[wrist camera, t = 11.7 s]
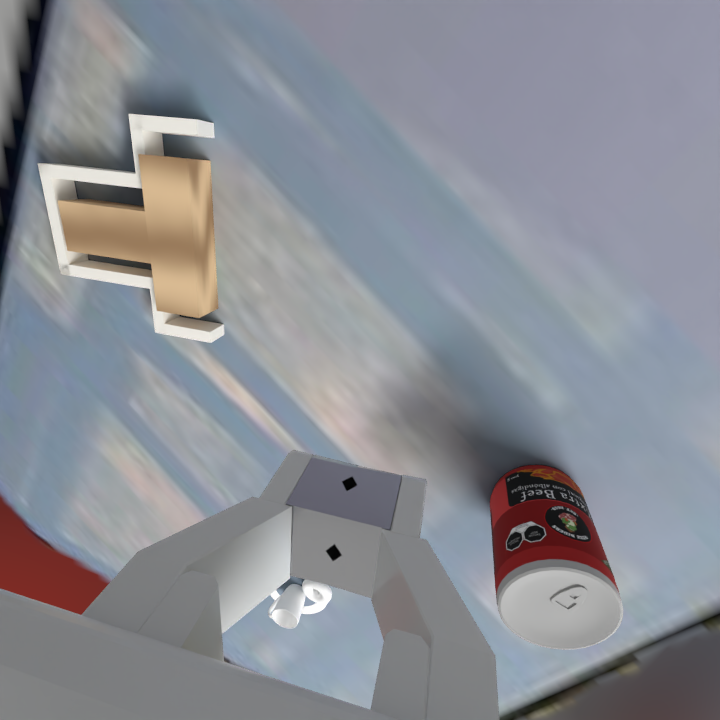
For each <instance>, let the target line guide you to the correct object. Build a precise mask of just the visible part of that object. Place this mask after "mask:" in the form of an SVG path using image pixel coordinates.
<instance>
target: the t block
mask: <svg viewBox="0 0 720 720" xmlns="http://www.w3.org/2000/svg"><path fill="white" fill-rule="evenodd" d="M138 157H139V166H140V174H141V182H142V191H143V199H144V206H140V205H132V204H124V203H116V202H108V201H100V200H92V199H76V200H57V201H58V206H59V211H60V216H61V221H62V226H63V231H64V236H65V241H66V246H67V251H72V252H78V253H85V254H91V255H98V256H104V257H111V258H117V259H124V260H130V261H137V262H144V263H150V264H151V267H152V275H153V284H154V292H155V301H156V309H157V311H161V312H167V313H172V314H178V315H184V316H189V317H195V318H200V317H202V316H204V315H206V314H208V313H210V312H212V311H214V310H216V309H218V295H217V276H216V258H215V239H214V221H213V203H212V184H211V166H210V161H208V160H198V159H188V158H178V157H168V156H157V155H144V154H138Z"/></svg>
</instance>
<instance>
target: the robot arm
mask: <svg viewBox="0 0 720 720" xmlns="http://www.w3.org/2000/svg"><path fill="white" fill-rule="evenodd" d="M426 486H427V481H426V479H421V478H416V477H411V476H406V475H403V477H402V475H398V474H394V473H389V472H385V471H380V470H375V469H371V468H366V467H362V466H358V465H354V464H350V463H346V462H342V461H338V460H334V459H330V458H326V457H322V456H318V455H313V454H308V453H304V452H300V451H296V450H293V451H291V452H290V453H288V455H287V456H286V458H285V459H284V461H283V462H282V464H281V466H280V467H279V469H278V470H277V472H276V473H275V475H274V476H273V478H272V479H271V481H270V482H269V484H268V485H267V487H266V488H265V490H264V491H263V493H262V494H261V496H260V497H259V498H256V497H251V498H249V499H247V500H245V501H242V502H240V503H238V504H236V505H234V506H232V507H230V508H228V509H226V510H224V511H222V512H220V513H217V514H215V515H213V516H211V517H209V518H207V519H205V520H203V521H201V522H199V523H197V524H195V525H192V526H190V527H188V528H186V529H184V530H182V531H180V532H178V533H176V534H174V535H172V536H169V537H167V538H165V539H163V540H161V541H159V542H157V543H155V544H153V545H151V546H149V547H147V548H144V549H142V550H140V551H138V552H137V553H136V554H135V555H134V557H133V558H132V559H131V560H130V561H129V562H128V563H127V564H126V566H125V567H124V568H123V569H122V570H121V571H120V572H119V573H118V574H117V576H116V577H115V578H114V579H113V580H112V581H111V582H110V583H109V585H108V586H107V587H106V588H105V589H104V590H103V591H102V593H101V594H100V595H99V596H98V597H97V598H96V599H95V600H94V602H93V603H92V604H91V605H90V606H89V607H88V608H87V609H86V610H85V612H84V613H83V614H82V615H79V614H76V613H73V612H70V611H67V610H64V609H61V608H58V607H55V606H52V605H48V604H46V603H42V602H39V601H36V600H33V599H30V598H27V597H24V596H21V595H18V594H15V593H12V592H9V591H6V590H3V589H0V720H499V709H498V692H497V676H496V660H495V655H494V653H493V651H492V650H491V648H490V646H489V644H488V643H487V641H486V639H485V638H484V636H483V634H482V633H481V631H480V629H479V627H478V626H477V624H476V622H475V621H474V619H473V617H472V616H471V614H470V612H469V610H468V609H467V607H466V605H465V604H464V602H463V600H462V599H461V597H460V595H459V593H458V592H457V590H456V588H455V587H454V585H453V583H452V582H451V580H450V578H449V576H448V575H447V573H446V571H445V570H444V568H443V566H442V565H441V563H440V561H439V559H438V558H437V556H436V554H435V553H434V551H433V549H432V548H431V546H430V544H429V542H428V541H427V540H424V539H421V538H420V533H421V525H422V517H423V509H424V502H425V494H426ZM290 576H294V577H298V578H302V579H306V580H310V581H314V582H318V583H322V584H326V585H330V586H334V587H337V588H340V589H343V590H346V591H350V592H353V593H356V594H359V595H363V596H366V597H369V598H372V600H371V601H372V604H373V607H374V610H375V614H376V617H377V620H378V623H379V627H380V630H381V633H382V636H383V640H384V644H383V649H382V654H381V659H380V664H379V669H378V674H377V679H376V684H375V690H374V695H373V700H372V705H371V710H369V709H366V708H363V707H360V706H357V705H354V704H351V703H348V702H345V701H342V700H339V699H336V698H333V697H330V696H327V695H324V694H320V693H317V692H314V691H311V690H308V689H305V688H302V687H299V686H296V685H293V684H290V683H287V682H284V681H281V680H278V679H275V678H272V677H268V676H265V675H262V674H259V673H256V672H253V671H250V670H247V669H244V668H241V667H238V666H235V665H232V664H229V663H226V662H224V656H223V642H222V634H223V633H224V632H225V631H226V630H228V629H229V628H230V627H231V626H232V625H234V624H235V623H236V622H237V621H239V620H240V619H241V618H242V617H243V616H245V615H246V614H247V613H248V612H249V611H251V610H252V609H253V608H254V607H256V606H257V605H258V604H259V603H260V602H262V601H263V600H264V599H265V598H267V597H268V596H269V595H270V594H271V593H273V592H274V591H275V590H276V589H278V588H279V587H280V586H281V585H282V584H284V583H285V582H286V581H287V580H288V579H290Z"/></svg>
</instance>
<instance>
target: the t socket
mask: <svg viewBox="0 0 720 720" xmlns="http://www.w3.org/2000/svg"><path fill="white" fill-rule="evenodd" d="M129 122H130V131H131V139H132V147H133V155H134V163H135V171H136V172H129V171H120V170H111V169H102V168H93V167H84V166H75V165H66V164H49V163H38V167H39V172H40V177H41V181H42V186H43V191H44V196H45V201H46V205H47V210H48V215H49V220H50V224H51V229H52V234H53V239H54V243H55V248H56V253H57V258H58V262H59V267H60V272H61V274H63V275H69V276H75V277H81V278H87V279H93V280H99V281H105V282H111V283H117V284H123V285H130V286H136V287H142V288H148V289H150V294H151V302H152V310H153V318H154V326H155V333H160V334H166V335H171V336H177V337H182V338H187V339H193V340H198V341H204V342H209V343H212V342H213V341H215V340H216V339H218V338H219V337H221V336H223V335H224V324H219V323H214V322H208V321H202V320H197V319H191V318H185V317H179V315H178V314H172V313H167V312H161V311H157V309H156V301H155V292H154V284H153V275H152V270H148V269H142V268H135V267H129V266H123V265H116V264H110V263H103V262H97V261H91V260H88V254H85V253H78V252H72V251H67V246H66V241H65V236H64V231H63V226H62V221H61V216H60V211H59V206H58V201H57V200H76V199H78V198H77V193H76V187H75V182H74V181H82V182H91V183H99V184H108V185H116V186H124V187H133V188H141V189H142V182H141V174H140V166H139V157H138V154H144V155H157V156H164V149H163V139H162V134H173V135H184V136H195V137H206V138H215V137H214V123H210V122H206V121H201V120H197V119H185V118H173V117H161V116H149V115H137V114H129Z"/></svg>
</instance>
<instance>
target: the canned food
mask: <svg viewBox="0 0 720 720" xmlns="http://www.w3.org/2000/svg"><path fill="white" fill-rule="evenodd" d="M490 512H491V527H492V543H493V558H494V574H495V588H496V598H497V605H498V611H499V614H500V617H501V619H502V620H503V622H504V623H505V625H506V626H507V627H508V628H509V629H510V630H511V631H512V632H513V633H515V634H516V635H517V636H519V637H520V638H522V639H524V640H526V641H528V642H530V643H533V644H536V645H539V646H542V647H547V648H552V649H563V650H566V649H579V648H585V647H589V646H592V645H595V644H598V643H600V642H602V641H604V640H606V639H607V638H608V637H610V636H611V635H612V634H613V633H614V632H615V631H616V630H617V628H618V627H619V626H620V623H621V621H622V618H623V606H622V602H621V598H620V593H619V591H618V588H617V585H616V582H615V579H614V576H613V573H612V571H611V568H610V565H609V563H608V560H607V558H606V555H605V552H604V550H603V547H602V544H601V542H600V539H599V536H598V534H597V531H596V528H595V526H594V523H593V520H592V518H591V515H590V512H589V510H588V507H587V504H586V502H585V499H584V496H583V494H582V492H581V490H580V488H579V487H578V486H577V485H576V483H575V482H574V481H573V480H572V479H571V478H570V477H569V476H567V475H566V474H565V473H563V472H562V471H560V470H557V469H555V468H552V467H549V466H543V465H528V466H523V467H519V468H516V469H513V470H511V471H510V472H508V473H506V474H505V475H504V476H503V477H501V478H500V479H499V481H498V482H497V483H496V485H495V487H494V490H493V492H492V494H491V499H490Z"/></svg>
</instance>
